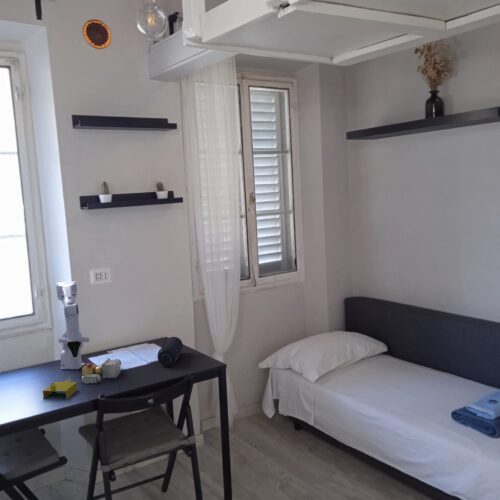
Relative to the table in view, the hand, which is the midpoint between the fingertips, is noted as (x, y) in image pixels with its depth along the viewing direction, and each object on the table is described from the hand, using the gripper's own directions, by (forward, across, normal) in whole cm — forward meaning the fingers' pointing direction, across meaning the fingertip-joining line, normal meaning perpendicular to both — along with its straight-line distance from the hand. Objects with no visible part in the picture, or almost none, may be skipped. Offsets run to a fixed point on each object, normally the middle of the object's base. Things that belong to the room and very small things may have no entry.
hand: (75, 356), depth 253 cm
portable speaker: (+10, +41, +21) cm, 47 cm away
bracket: (+10, +3, -22) cm, 24 cm away
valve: (+9, +9, 0) cm, 13 cm away
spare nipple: (+10, +11, -9) cm, 17 cm away
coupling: (+9, +18, +3) cm, 20 cm away
